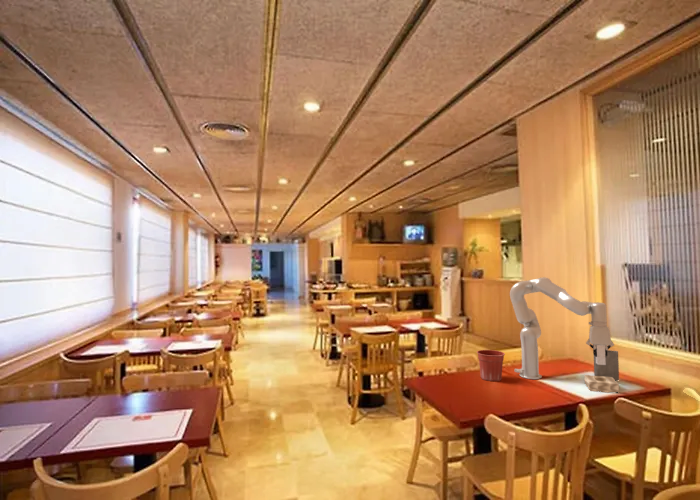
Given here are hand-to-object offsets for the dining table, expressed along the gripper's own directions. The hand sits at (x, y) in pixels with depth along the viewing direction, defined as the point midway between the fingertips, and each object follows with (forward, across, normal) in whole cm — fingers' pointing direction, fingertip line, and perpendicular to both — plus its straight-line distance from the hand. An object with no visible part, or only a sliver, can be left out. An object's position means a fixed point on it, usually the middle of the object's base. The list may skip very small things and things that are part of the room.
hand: (600, 356), depth 226 cm
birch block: (+18, 0, 0) cm, 18 cm away
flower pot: (+18, -59, 0) cm, 62 cm away
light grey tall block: (+4, 0, 0) cm, 4 cm away
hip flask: (+18, +6, +17) cm, 26 cm away
